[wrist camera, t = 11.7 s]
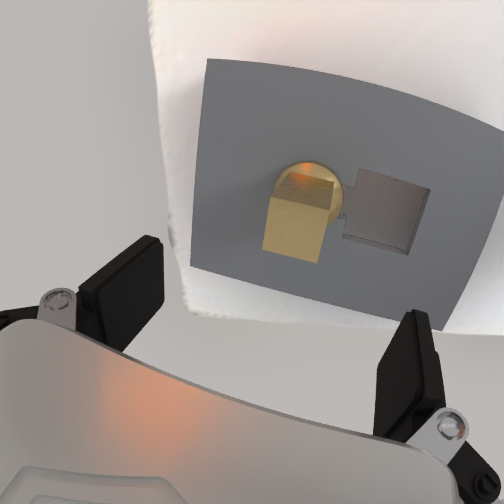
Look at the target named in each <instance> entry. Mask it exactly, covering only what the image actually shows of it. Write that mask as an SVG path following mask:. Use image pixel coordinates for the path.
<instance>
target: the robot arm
mask: <svg viewBox="0 0 504 504" xmlns="http://www.w3.org/2000/svg"><path fill="white" fill-rule="evenodd" d="M163 257H164V256H163V244H162V243H160V240H159V238H156V237H152V236H149V235H144V236H143V237H141V238H140V239H139V240H137V241H136V242H135V243H133V244H132V245H131V246H129V247H128V248H127V249H125V250H124V251H123V252H122V253H120V254H119V255H118V256H116V257H115V258H114V259H113V260H111V261H110V262H109V263H107V265H105V266H104V267H103V268H101V269H100V270H99V271H97V272H96V273H95V274H94V275H92V276H91V277H90V278H89V279H88V280H86V281H85V282H84V283H82V284H81V285H80V286H79V287H78V288H79V291H78V292H77V293H76V294H75V293H74V291H72V290H70V289H67V288H56V289H53V290H50V291H48V292H47V293H45V294H44V295H43V296H42V298H41V300H40V305H38V306H32V307H25V308H18V309H12V310H4V311H1V312H0V504H504V500H501V501H500V500H499V498H498V496H499V494H500V490H501V482H500V479H499V476H498V475H497V473H496V472H495V471H494V470H493V469H492V468H491V467H490V466H489V464H487V463H486V461H485V460H484V459H483V458H482V457H481V456H480V455H479V454H478V453H477V452H476V451H475V450H474V449H473V448H472V446H471V445H470V444H469V443H468V442H467V441H466V439H467V437H468V435H469V426H468V423H467V420H466V418H465V417H464V416H463V415H462V414H461V413H460V412H459V411H457V410H456V409H453V408H447V407H446V402H445V393H444V385H443V379H442V372H441V366H440V360H439V355H438V353H437V352H436V351H435V348H434V342H433V337H432V331H431V326H430V321H429V317H428V313H427V312H424V311H420V310H416V309H412V310H411V312H408V311H407V312H406V313H405V315H404V317H403V319H402V321H401V323H400V325H399V327H398V329H397V330H396V332H395V334H394V336H393V338H392V340H391V342H390V344H389V346H388V347H387V349H386V351H385V353H384V355H383V357H382V358H381V360H380V362H379V364H378V368H377V382H376V400H375V415H374V428H373V435H369V434H365V433H360V432H355V431H351V430H347V429H342V428H338V427H334V426H330V425H326V424H322V423H318V422H314V421H310V420H306V419H302V418H299V417H295V416H292V415H288V414H284V413H281V412H278V411H274V410H271V409H268V408H264V407H261V406H258V405H255V404H252V403H249V402H246V401H243V400H240V399H236V398H234V397H231V396H228V395H225V394H222V393H219V392H216V391H214V390H211V389H208V388H206V387H203V386H200V385H198V384H195V383H192V382H190V381H187V380H185V379H182V378H180V377H177V376H175V375H172V374H170V373H167V372H165V371H162V370H160V369H158V368H155V367H153V366H151V365H148V364H146V363H144V362H142V361H139V360H137V359H135V358H133V357H130V356H128V355H126V354H124V353H122V352H123V351H124V350H125V348H126V347H127V346H128V345H129V344H130V342H131V341H132V340H133V339H134V338H135V337H136V335H137V334H138V333H139V332H140V331H141V330H142V328H143V327H144V326H145V325H146V324H147V323H148V321H149V320H150V319H151V318H152V317H153V316H154V315H155V313H156V312H157V311H158V310H159V309H160V308H161V306H162V305H163V303H164V260H163V259H164V258H163Z"/></svg>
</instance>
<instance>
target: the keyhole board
mask: <svg viewBox="0 0 504 504" xmlns="http://www.w3.org/2000/svg"><path fill="white" fill-rule="evenodd" d="M301 161H316V162H319V163H322V164H324V165H326V166H328V167H329V168H330V169H332V170H333V171H334V172H335V174H336V175H337V176H338V178H339V180H340V182H341V184H342V185H344V186H348V187H352V188H355V184H356V180H357V176H358V172H359V169H363V170H367V171H370V172H374V173H378V174H381V175H385V176H388V177H392V178H395V179H398V180H402V181H405V182H408V183H412V184H415V185H418V186H421V187H424V188H427V191H426V194H425V197H424V200H423V204H422V207H421V210H420V213H419V216H418V219H417V222H416V225H415V228H414V231H413V234H412V236H411V239H410V242H409V245H408V247H407V250H402V249H399V248H395V247H392V246H388V245H384V244H381V243H377V242H373V241H370V240H366V239H362V238H358V237H355V236H351V235H347V234H343V230H344V226H345V223H346V216H345V215H341V214H339V215H338V216H337V218H336V219H335V220H334V221H333V222H332V223H331V224H329V225H328V226H326V229H325V233H324V237H323V241H322V245H321V249H320V253H319V257H318V261H317V263H314V262H310V261H306V260H302V259H298V258H294V257H290V256H286V255H282V254H278V253H274V252H270V251H266V250H262V246H263V240H264V234H265V228H266V221H267V215H268V209H269V202H270V197H271V195H272V194H273V193H274V187H275V184H276V182H277V180H278V178H279V177H280V175H281V174H282V173H283V172H284V171H285V170H286V169H287V168H288V167H289V166H291V165H293V164H295V163H297V162H301ZM503 194H504V131H502V130H499V129H497V128H495V127H493V126H491V125H489V124H486V123H484V122H482V121H480V120H477V119H475V118H473V117H470V116H468V115H465V114H463V113H460V112H458V111H455V110H453V109H450V108H448V107H445V106H442V105H439V104H437V103H434V102H431V101H428V100H425V99H422V98H419V97H416V96H413V95H410V94H407V93H404V92H400V91H397V90H394V89H390V88H387V87H383V86H379V85H376V84H372V83H368V82H364V81H360V80H356V79H352V78H347V77H343V76H338V75H333V74H329V73H324V72H318V71H313V70H307V69H301V68H295V67H289V66H282V65H274V64H267V63H258V62H248V61H238V60H225V59H207V66H206V74H205V82H204V91H203V100H202V109H201V118H200V128H199V139H198V150H197V162H196V174H195V188H194V203H193V219H192V238H191V260H190V266H192V267H195V268H199V269H202V270H206V271H209V272H213V273H216V274H220V275H224V276H227V277H231V278H234V279H238V280H241V281H245V282H249V283H252V284H256V285H260V286H263V287H267V288H271V289H274V290H278V291H282V292H286V293H289V294H293V295H297V296H301V297H304V298H308V299H312V300H316V301H320V302H324V303H328V304H331V305H335V306H339V307H343V308H347V309H351V310H355V311H359V312H363V313H367V314H371V315H375V316H379V317H384V318H388V319H392V320H396V321H400V322H401V321H402V319H403V317H404V315H405V313H406V312H407V311H408V312H411V310H412V309H416V310H420V311H424V312H427V313H428V317H429V321H430V326H431V329H434V330H439V331H442V330H443V328H444V326H445V324H446V323H447V321H448V319H449V317H450V316H451V314H452V312H453V310H454V308H455V306H456V304H457V302H458V301H459V299H460V297H461V295H462V293H463V291H464V289H465V287H466V285H467V283H468V281H469V278H470V276H471V274H472V272H473V270H474V268H475V266H476V263H477V261H478V259H479V257H480V254H481V252H482V250H483V247H484V245H485V243H486V240H487V238H488V235H489V233H490V230H491V228H492V225H493V222H494V220H495V217H496V214H497V211H498V209H499V206H500V203H501V200H502V197H503Z"/></svg>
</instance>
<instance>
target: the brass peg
mask: <svg viewBox="0 0 504 504" xmlns="http://www.w3.org/2000/svg"><path fill="white" fill-rule="evenodd" d="M342 204H343V188H342V184H341V182H340V180H339V178H338V176H337V175H336V174H335V172H334V171H333V170H332V169H330V168H329V167H328V166H326V165H324V164H322V163H319V162H316V161H301V162H297V163H295V164H293V165H291V166H289V167H288V168H287V169H286V170H285V171H284V172H283V173H282V174H281V175H280V177H279V178H278V180H277V182H276V184H275V187H274V193H273V194H272V195H271V197H270V202H269V209H268V215H267V221H266V228H265V234H264V240H263V246H262V250H266V251H270V252H274V253H278V254H282V255H286V256H290V257H294V258H298V259H302V260H306V261H310V262H314V263H317V261H318V257H319V253H320V249H321V245H322V241H323V237H324V233H325V229H326V226H328V225H329V224H331V223H332V222H333V221H334V220H335V219H336V218H337V216H338V215H339V213H340V211H341V208H342Z"/></svg>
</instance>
